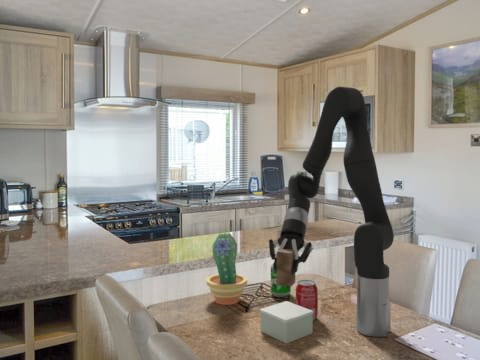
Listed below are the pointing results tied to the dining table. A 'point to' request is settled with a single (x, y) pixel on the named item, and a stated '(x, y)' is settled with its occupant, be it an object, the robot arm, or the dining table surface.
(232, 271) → the potted cactus
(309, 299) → the soda can
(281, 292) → the soda can
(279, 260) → the walnut block
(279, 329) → the storage box
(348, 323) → the dining table surface
